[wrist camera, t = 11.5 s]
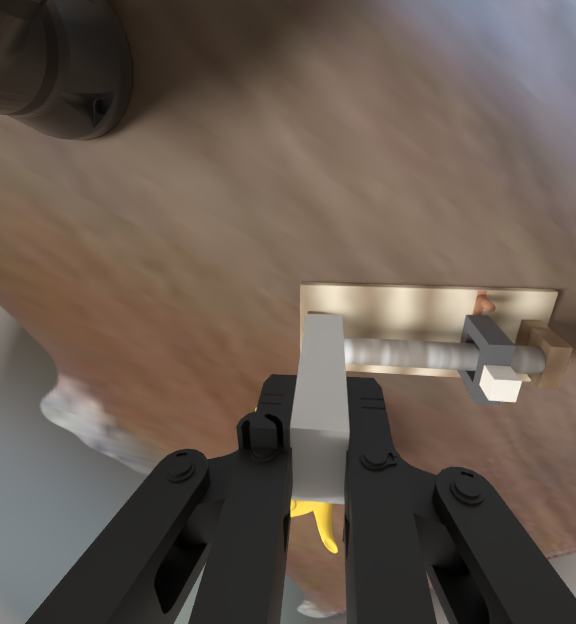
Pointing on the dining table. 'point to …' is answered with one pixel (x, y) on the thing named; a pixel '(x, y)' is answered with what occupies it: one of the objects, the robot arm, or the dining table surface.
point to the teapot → (317, 518)
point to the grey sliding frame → (490, 362)
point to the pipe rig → (438, 327)
